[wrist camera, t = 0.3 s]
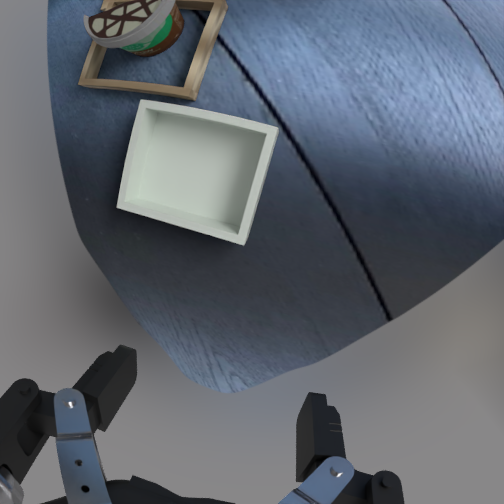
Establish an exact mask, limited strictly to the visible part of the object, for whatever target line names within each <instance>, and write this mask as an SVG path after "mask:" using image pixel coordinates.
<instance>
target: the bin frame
mask: <svg viewBox="0 0 504 504" xmlns="http://www.w3.org/2000/svg"><path fill="white" fill-rule="evenodd" d="M129 1H133V0H110V1H109V3H108V6H107V8H106V10H105V11H107V10H109V9H111V8H113V7H115V6H118V5H120V4H122V3H125V2H129ZM175 3H176V5H177V7H178V9H191V10H204V11H211V12H210V15H209V17H208V20H207V22H206V25H205V28H204V30H203V33H202V35H201V38H200V41H199V44H198V46H197V49H196V52H195V55H194V58H193V61H192V64H191V66H190V69H189V72H188V76H187V79H186V82H185V85H184V88H183V87H176V86H169V85H162V84H154V83H145V82H135V81H124V80H110V79H97V76H98V73H99V70H100V67H101V64H102V61H103V58H104V55H105V52H106V50H107V47H103V46H101V45H99V44H97V43H96V42H95V41H94V40H93V41H92V44H91V47H90V49H89V52H88V55H87V58H86V61H85V64H84V67H83V70H82V73H81V76H80V79H79V82H78V85H81V86H84V87H88V88H99V89H112V90H123V91H132V92H141V93H149V94H156V95H163V96H170V97H176V98H182V99H188V100H194V101H196V98H197V95H198V91H199V88H200V85H201V82H202V79H203V76H204V73H205V70H206V67H207V64H208V61H209V58H210V55H211V52H212V49H213V46H214V43H215V41H216V38H217V35H218V32H219V30H220V27H221V24H222V22H223V19H224V17H225V14H226V12H227V9H228V6H227V3H226V1H225V0H175Z"/></svg>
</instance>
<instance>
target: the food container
mask: <svg viewBox="0 0 504 504" xmlns="http://www.w3.org/2000/svg"><path fill="white" fill-rule="evenodd" d="M84 25H85V28H86V31H87V33H88V34H89V36H90V37H91V38H92V39H93V40H94V41H95V42H96V43H97V44H99V45H101V46H103V47H107V48H121V49H123V50H126V51H128V52H131V53H133V54H135V55H138V56H141V57H150V56H154V55H157V54H160V53H162V52H164V51H165V50H167V49H168V48H170V47H171V46H172V45H173V44H174V43H175V42H176V41H177V39H178V38H179V36H180V35H181V33H182V30H183V27H184V19H183V17H182V15H181V13H180V11H179V9H178V7H177V5H176V3H175V0H133V1H129V2H125V3H122V4H120V5H118V6H115V7H113V8H111V9H109V10H107V11H104V12H101V13H99V14H96V15H94V16H91V17H88V16H86V15H84Z"/></svg>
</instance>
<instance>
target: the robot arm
mask: <svg viewBox="0 0 504 504" xmlns="http://www.w3.org/2000/svg"><path fill="white" fill-rule="evenodd" d="M136 377H137V354H136V350H135V349H132V348H129V347H126V346H123V345H119V346H118V348H117V349H116V350H115V351H114V352H113V353H112V352H109V351H107V352H106V353H104V354H102V355H100V356H99V357H98V358H97V359H96V360H95V361H94V363H93V364H92V365H91V366H90V367H89V369H88V370H87V371H86V372H85V374H83V376H82V377H81V378H80V379H79V380H78V382H77V383H76V384H75V385H74V386H73V387H72V388H66V389H62V390H60V391H58V392H57V393H51V392H46V391H42V390H39V388H38V385H37V384H36V383H35V382H34V381H33V380H31V379H26V378H24V379H19V380H17V381H15V382H14V383H13V384H12V385H11V387H10V388H9V389H8V390H7V391H6V392H5V393H4V395H3V396H2V397H1V398H0V504H22V501H23V497H24V492H23V489H22V487H21V486H20V484H21V482H22V481H23V479H24V477H25V476H26V474H27V472H28V471H29V469H30V467H31V466H32V463H33V462H34V461H35V459H36V457H37V456H38V454H39V452H40V451H41V449H42V447H43V446H44V444H45V443H46V441H47V440H48V438H49V436H53V437H56V446H57V453H58V458H59V464H60V469H61V474H62V479H63V484H64V488H65V492H66V496H64V497H61V498H58V499H55V500H52V501H48V502H45V503H41V504H235V503H230V502H225V501H220V500H215V499H210V498H188V497H181V496H178V495H176V494H174V493H172V492H171V491H169V490H167V489H165V488H163V487H162V486H160V485H158V484H156V483H153V482H150V481H147V480H145V479H142V478H139V477H136V476H132V478H131V480H130V481H129V480H111V481H107V478H106V476H105V473H104V470H103V467H102V464H101V460H100V456H99V453H98V449H97V445H96V441H95V437H94V433H95V431H96V430H97V429H99V430H102V431H104V432H105V431H106V429H107V428H108V426H109V424H110V423H111V421H112V419H113V418H114V416H115V414H116V413H117V411H118V410H119V408H120V407H121V405H122V403H123V402H124V400H125V398H126V397H127V395H128V394H129V392H130V390H131V389H132V387H133V386H134V384H135V381H136ZM296 482H303V483H302V484H301V485H300V486H299V487H298V488H296V489H294V490H293V491H291V492H290V493H289V494H288V495H287V496H286V497H285V498H284V499H282V500H281V501H280V502H279V503H278V504H404V498H403V492H402V485H401V481H400V479H399V477H398V476H397V475H396V474H394V473H393V472H390V471H379V472H377V473H376V474H375V475H374V476H373V475H370V474H366V473H363V472H359V471H357V470H355V469H354V467H353V465H352V464H351V463H350V462H349V461H348V460H347V459H346V455H345V448H344V441H343V434H342V427H341V420H340V415H339V413H338V412H337V410H336V408H335V407H334V406H327V399H326V395H325V394H318V393H312V392H309V393H308V395H307V397H306V399H305V402H304V404H303V406H302V408H301V410H300V413H299V415H298V419H297V424H296Z"/></svg>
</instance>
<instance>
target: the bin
mask: <svg viewBox="0 0 504 504" xmlns="http://www.w3.org/2000/svg"><path fill="white" fill-rule="evenodd" d="M278 133H279V130H278V128H277V127H274V126H270V125H266V124H263V123H259V122H255V121H251V120H247V119H243V118H239V117H235V116H230V115H226V114H222V113H217V112H212V111H207V110H202V109H197V108H192V107H187V106H181V105H175V104H170V103H163V102H157V101H150V100H143V99H141V101H140V104H139V108H138V111H137V115H136V119H135V122H134V126H133V130H132V134H131V138H130V143H129V147H128V151H127V156H126V160H125V165H124V170H123V175H122V180H121V185H120V191H119V197H118V202H117V208H120V209H123V210H126V211H130V212H133V213H136V214H140V215H143V216H147V217H150V218H153V219H157V220H160V221H164V222H167V223H170V224H174V225H177V226H180V227H184V228H187V229H191V230H194V231H197V232H201V233H204V234H207V235H211V236H214V237H217V238H221V239H224V240H227V241H231V242H234V243H238V244H241V245H245V243H246V240H247V238H248V236H249V233H250V229H251V226H252V222H253V219H254V215H255V212H256V208H257V205H258V202H259V198H260V195H261V191H262V188H263V184H264V181H265V177H266V174H267V171H268V167H269V164H270V160H271V157H272V153H273V150H274V147H275V143H276V140H277V136H278Z"/></svg>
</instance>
